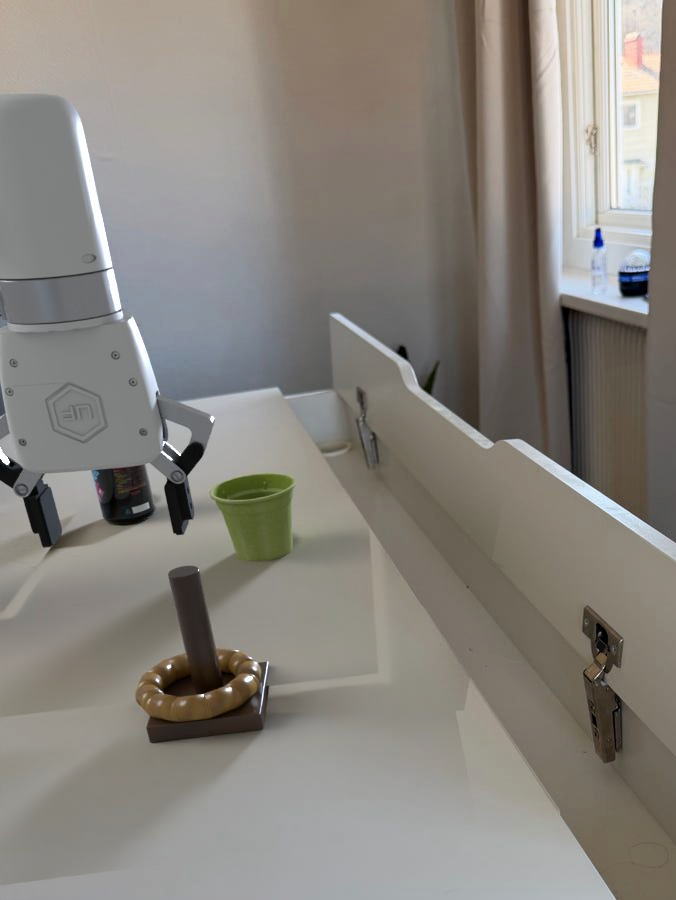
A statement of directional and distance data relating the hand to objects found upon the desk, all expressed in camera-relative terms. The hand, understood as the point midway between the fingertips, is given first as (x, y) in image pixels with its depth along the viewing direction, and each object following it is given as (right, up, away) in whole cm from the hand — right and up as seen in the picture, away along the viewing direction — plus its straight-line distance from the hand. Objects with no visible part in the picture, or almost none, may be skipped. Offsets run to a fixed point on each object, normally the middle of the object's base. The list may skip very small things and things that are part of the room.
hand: (117, 534), depth 75 cm
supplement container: (-18, +8, +53) cm, 57 cm away
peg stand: (+5, -14, +8) cm, 17 cm away
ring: (+4, -12, +6) cm, 14 cm away
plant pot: (+3, +1, +37) cm, 37 cm away
